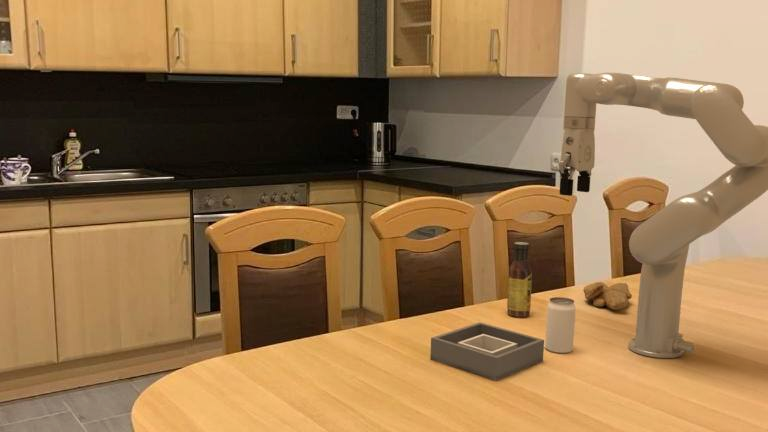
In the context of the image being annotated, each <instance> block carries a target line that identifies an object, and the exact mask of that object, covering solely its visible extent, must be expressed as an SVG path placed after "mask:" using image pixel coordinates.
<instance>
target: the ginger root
mask: <svg viewBox="0 0 768 432" xmlns="http://www.w3.org/2000/svg"><path fill="white" fill-rule="evenodd" d="M582 292H583V293H584V297H585V299H586V300H587V301H592V304H593V306H594V307H596V308H601V307H604V306H606V307H607V308H609V310H613V311H617V310H618V311H619V310H622V309H625V308H626V307H627V306H628V305H629V303H630V299H632V298H633V297H632V296H633V295H632V294H633V293H631V292H630V290H629V286H628V284H627V282H617V283H614V284H613V285H609V286H608V285H607V284H606V283H604V282H602V281H600V282H594V283H589V284H587V285H585V286H584V287H583V291H582Z"/></svg>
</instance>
